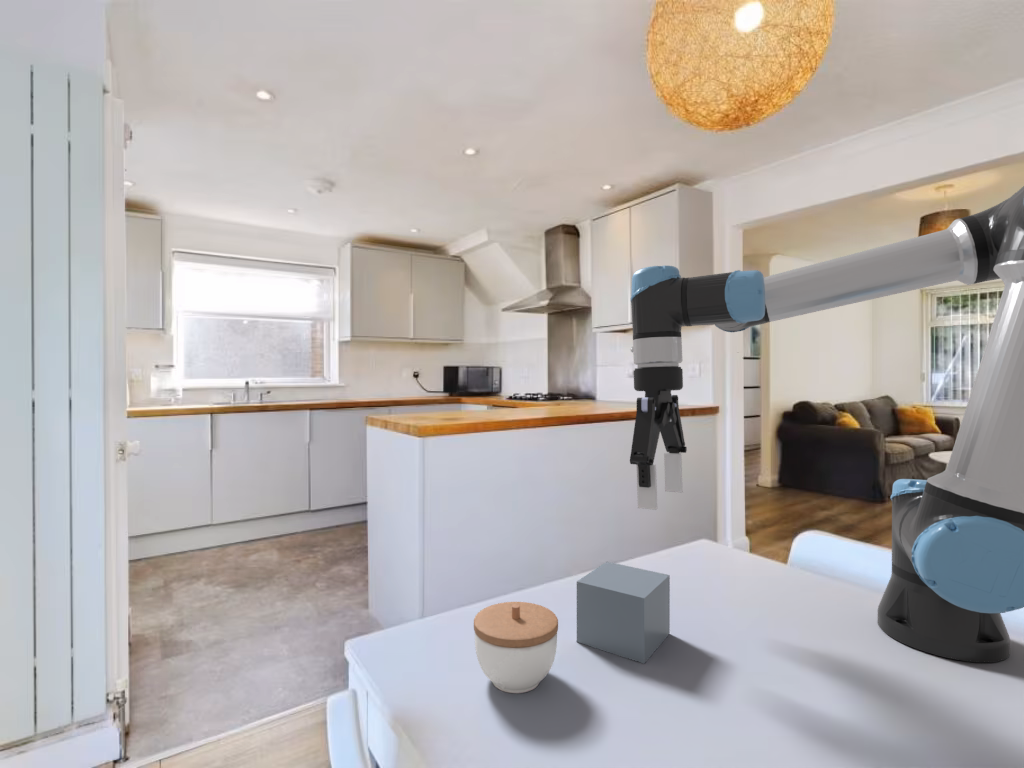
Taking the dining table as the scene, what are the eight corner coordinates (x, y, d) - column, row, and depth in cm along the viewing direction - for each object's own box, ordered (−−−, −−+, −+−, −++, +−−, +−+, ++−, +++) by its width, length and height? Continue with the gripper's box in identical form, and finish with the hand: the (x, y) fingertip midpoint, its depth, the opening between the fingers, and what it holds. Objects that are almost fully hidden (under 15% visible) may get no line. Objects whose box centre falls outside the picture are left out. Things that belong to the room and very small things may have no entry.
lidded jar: (561, 705, 62) (561, 626, 62) (469, 705, 62) (469, 625, 62) (555, 657, 73) (555, 589, 72) (477, 656, 73) (477, 588, 73)
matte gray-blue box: (669, 633, 79) (669, 575, 79) (644, 663, 71) (644, 598, 71) (606, 616, 85) (606, 561, 85) (576, 641, 77) (576, 581, 77)
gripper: (658, 368, 97) (662, 484, 97) (604, 365, 76) (608, 514, 76) (701, 366, 93) (704, 487, 92) (656, 363, 72) (660, 520, 72)
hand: (661, 499), depth 84 cm, fingers open, 13 cm apart
